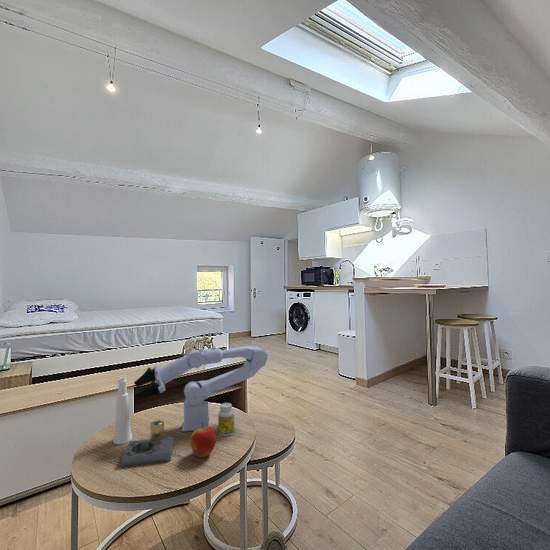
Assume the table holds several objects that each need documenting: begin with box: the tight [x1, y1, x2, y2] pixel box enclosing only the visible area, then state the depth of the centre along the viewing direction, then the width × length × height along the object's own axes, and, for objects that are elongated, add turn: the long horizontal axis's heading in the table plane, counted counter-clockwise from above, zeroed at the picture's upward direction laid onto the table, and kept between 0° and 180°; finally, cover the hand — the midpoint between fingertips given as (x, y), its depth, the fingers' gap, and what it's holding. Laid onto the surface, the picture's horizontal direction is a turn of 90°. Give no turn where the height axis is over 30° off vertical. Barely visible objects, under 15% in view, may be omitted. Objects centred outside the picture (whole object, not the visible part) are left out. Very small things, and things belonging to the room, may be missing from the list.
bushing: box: [149, 419, 165, 439], centre depth 110 cm, size 4×4×6 cm
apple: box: [189, 423, 217, 458], centre depth 101 cm, size 8×8×10 cm
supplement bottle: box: [217, 402, 235, 437], centre depth 115 cm, size 6×6×10 cm
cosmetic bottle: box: [112, 376, 133, 445], centre depth 111 cm, size 6×6×22 cm
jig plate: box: [121, 436, 175, 468], centre depth 101 cm, size 14×10×2 cm
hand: (136, 390), depth 113 cm, fingers open, 7 cm apart
